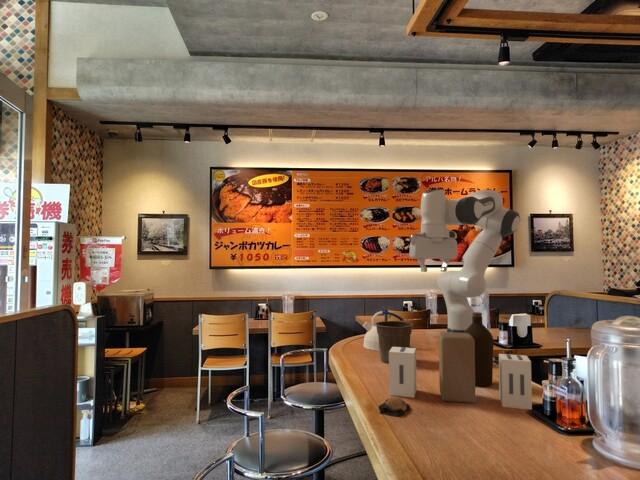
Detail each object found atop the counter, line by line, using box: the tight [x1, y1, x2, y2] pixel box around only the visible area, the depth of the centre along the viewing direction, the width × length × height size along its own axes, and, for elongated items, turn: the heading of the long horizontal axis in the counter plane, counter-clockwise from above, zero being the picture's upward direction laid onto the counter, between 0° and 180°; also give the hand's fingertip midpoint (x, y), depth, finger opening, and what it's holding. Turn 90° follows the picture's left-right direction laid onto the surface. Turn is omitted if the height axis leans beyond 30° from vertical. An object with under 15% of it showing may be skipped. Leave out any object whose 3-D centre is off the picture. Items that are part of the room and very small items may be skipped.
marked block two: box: [498, 353, 533, 411], centre depth 126 cm, size 8×8×14 cm
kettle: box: [362, 310, 404, 352], centre depth 208 cm, size 20×21×18 cm
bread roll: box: [377, 396, 411, 418], centre depth 121 cm, size 11×8×4 cm
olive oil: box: [464, 311, 495, 388], centre depth 148 cm, size 11×11×25 cm
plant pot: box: [375, 320, 414, 364], centre depth 179 cm, size 16×16×16 cm
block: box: [438, 331, 476, 404], centre depth 132 cm, size 10×10×20 cm
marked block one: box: [388, 347, 417, 398], centre depth 137 cm, size 8×8×14 cm
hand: (434, 271), depth 148 cm, fingers open, 8 cm apart
